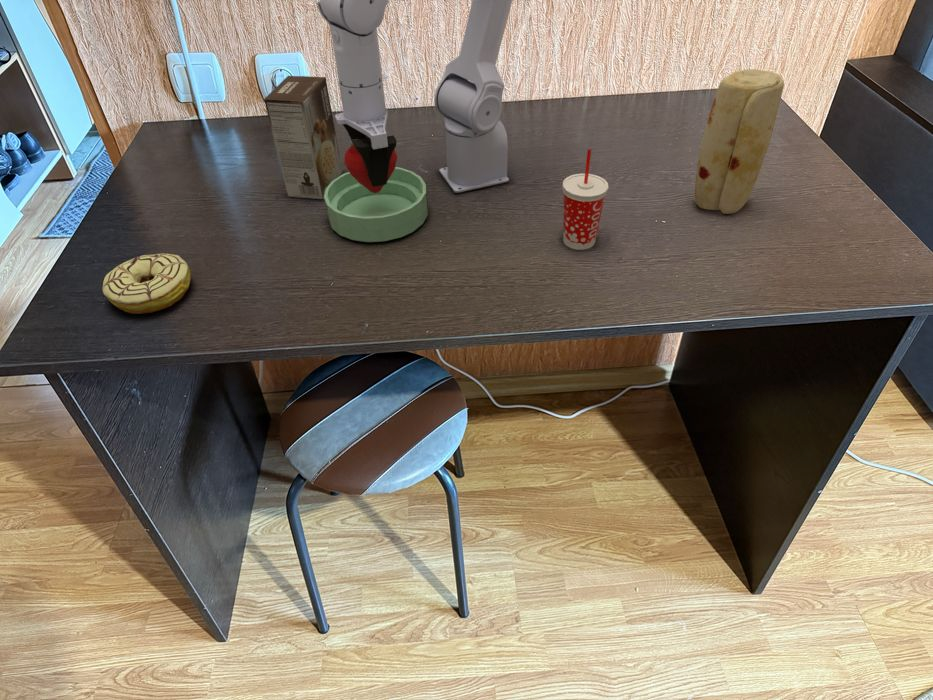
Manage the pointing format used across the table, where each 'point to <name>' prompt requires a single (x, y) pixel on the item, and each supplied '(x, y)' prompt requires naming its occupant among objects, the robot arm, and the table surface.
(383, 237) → the mint green dish
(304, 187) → the coffee box
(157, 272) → the decorated donut
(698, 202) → the food model
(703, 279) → the table surface
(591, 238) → the beverage cup
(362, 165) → the strawberry
